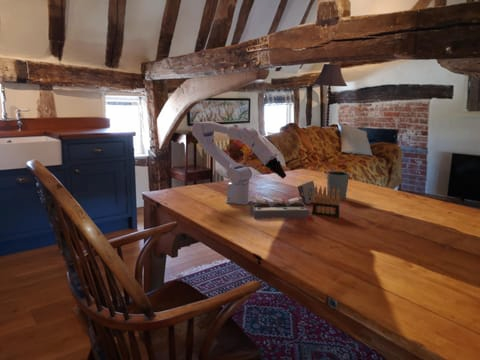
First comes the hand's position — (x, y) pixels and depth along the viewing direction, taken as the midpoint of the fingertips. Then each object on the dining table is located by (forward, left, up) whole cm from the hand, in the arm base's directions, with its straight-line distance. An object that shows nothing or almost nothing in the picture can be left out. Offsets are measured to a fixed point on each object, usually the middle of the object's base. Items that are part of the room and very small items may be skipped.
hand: (283, 176), depth 150 cm
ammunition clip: (+18, 0, -15) cm, 23 cm away
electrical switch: (+8, +17, -15) cm, 24 cm away
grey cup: (+20, +29, -15) cm, 38 cm away
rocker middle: (-1, -3, -10) cm, 10 cm away
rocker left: (-7, -6, -10) cm, 13 cm away
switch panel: (0, -4, -15) cm, 15 cm away
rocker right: (+5, 0, -10) cm, 11 cm away
